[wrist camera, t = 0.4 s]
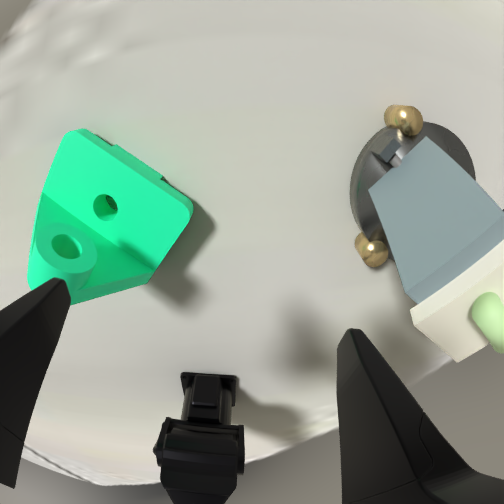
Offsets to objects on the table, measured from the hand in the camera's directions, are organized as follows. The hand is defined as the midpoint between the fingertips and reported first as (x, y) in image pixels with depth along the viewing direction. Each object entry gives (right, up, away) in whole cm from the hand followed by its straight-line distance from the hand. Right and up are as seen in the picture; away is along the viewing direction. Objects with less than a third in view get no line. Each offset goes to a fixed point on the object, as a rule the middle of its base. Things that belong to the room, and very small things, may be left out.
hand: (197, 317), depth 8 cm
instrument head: (+16, +7, +10) cm, 20 cm away
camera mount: (-10, +7, +14) cm, 18 cm away
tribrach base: (+15, +7, +14) cm, 22 cm away
